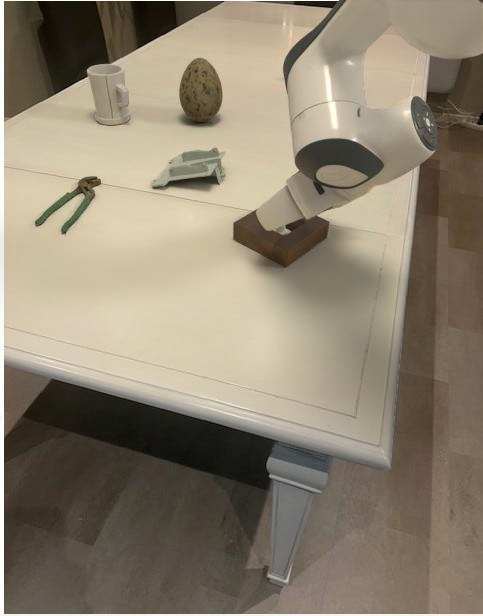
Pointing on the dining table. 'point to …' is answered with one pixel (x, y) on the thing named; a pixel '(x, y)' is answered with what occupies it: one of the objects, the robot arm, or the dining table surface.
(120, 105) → the cup
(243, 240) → the socket block
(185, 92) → the decorative egg
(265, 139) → the dining table surface
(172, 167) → the metal bracket
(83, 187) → the pliers
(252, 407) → the dining table surface
